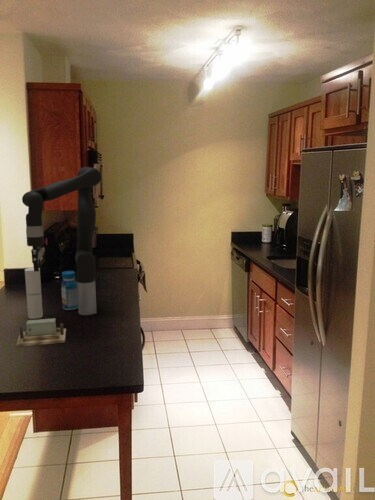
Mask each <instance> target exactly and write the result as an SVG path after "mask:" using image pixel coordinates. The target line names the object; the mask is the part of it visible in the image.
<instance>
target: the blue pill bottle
mask: <svg viewBox="0 0 375 500" xmlns="http://www.w3.org/2000/svg"><path fill="white" fill-rule="evenodd" d="M61 278H62V281H61V284H60V286H61V290H60V292H61V303H62V304H61V305H62V307H61V308H62V309H63V310H65V311H72V310H76V309H78V293H77V280H76V272H75V271H74V270H66V271H62V272H61Z"/></svg>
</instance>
